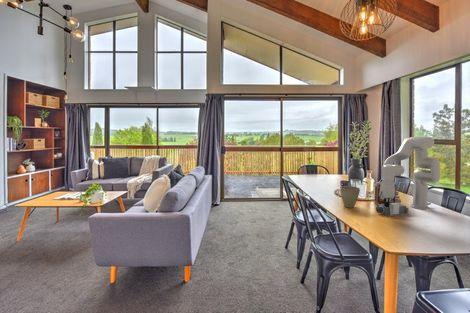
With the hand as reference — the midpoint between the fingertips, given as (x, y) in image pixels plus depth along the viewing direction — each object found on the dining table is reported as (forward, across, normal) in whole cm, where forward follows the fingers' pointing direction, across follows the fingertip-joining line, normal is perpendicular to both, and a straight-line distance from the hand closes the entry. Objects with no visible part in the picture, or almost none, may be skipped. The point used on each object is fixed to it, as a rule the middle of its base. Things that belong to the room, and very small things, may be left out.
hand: (386, 206), depth 185 cm
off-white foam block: (+6, -7, 0) cm, 9 cm away
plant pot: (+7, +10, -28) cm, 30 cm away
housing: (+7, -9, -5) cm, 12 cm away
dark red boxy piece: (+7, -23, -22) cm, 32 cm away
